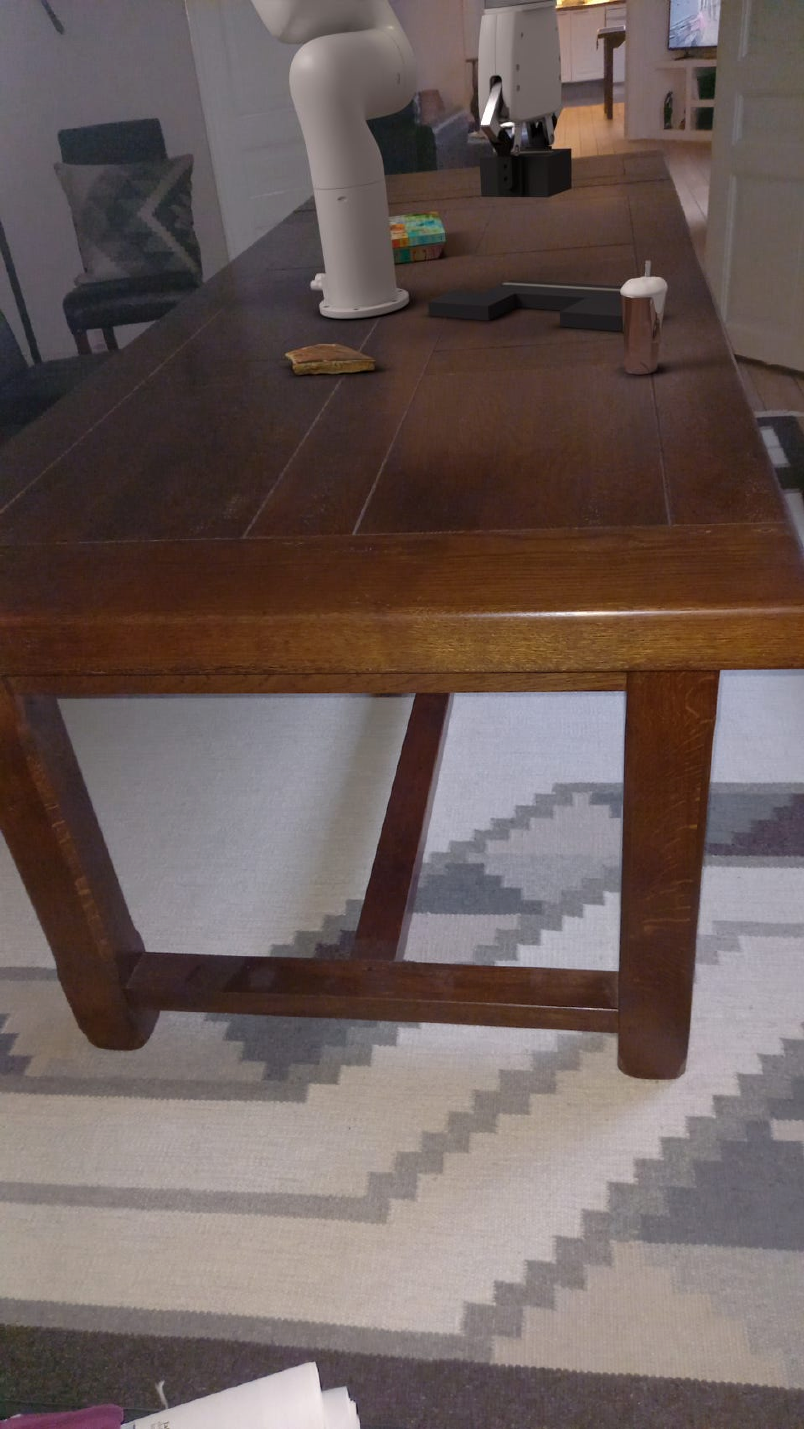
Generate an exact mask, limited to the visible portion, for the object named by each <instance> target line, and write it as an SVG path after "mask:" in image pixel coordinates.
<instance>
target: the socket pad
mask: <svg viewBox="0 0 804 1429" xmlns="http://www.w3.org/2000/svg"><path fill="white" fill-rule="evenodd" d="M622 287H623V285H610V284H594V283H593V284H591V283H576V282H575V283H573V282H559V281H558V282H557V281H537V280H522V279H521V280H519V279H509V280H507V281H505V282H502V283H500V284H498V285H495V286H493V287H491V288H488V289H486V290H475V289H474V290H472V289H459V288H457V289H453V290H452V291H449V292H447V293H444V294H442V295H440V296H437V297H436V298H433V299H431V300H428V301H427V306H428V307H427V309H428V316H429V317H440V318H452V319H465V320H474V321H475V320H476V321H486V322H490V321H492V320H494V319H496V318H498V317H500V316H502V315H504V314H506V313H507V312H509V311H511V310H514V309H516V308H521V309H533V310H547V311H548V310H549V311H558V312H559V327H560V328H570V329H583V330H595V331H608V332H621V333H623V317H622V305H621V292H620V290H621V288H622Z"/></svg>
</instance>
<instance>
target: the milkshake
mask: <svg viewBox="0 0 804 1429" xmlns="http://www.w3.org/2000/svg"><path fill="white" fill-rule="evenodd" d="M651 263H652V261H651V260H645V267H644V268H645V270H644V276H640V277H636V278H629V279H628V280H627V281H626V282H625V283H624V284H623V285H622V286H623V287H622V288H621V290H620V292H621V305H622V317H623V332H622V333H623V348H624V349H623V350H624V369H625V370H624V371H625V372H626V373H628V374H630V375H637V376H641V375H649V374H652V373H655V372H656V371H657V369H658V366H659V356H660V346H661V337H662V330H663V321H664V315H665V308H666V299H667V292H668V283H667V281H666V279H664V278H663V277H660V276H650V275H651V265H652V264H651Z"/></svg>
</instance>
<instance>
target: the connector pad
mask: <svg viewBox="0 0 804 1429" xmlns="http://www.w3.org/2000/svg"><path fill="white" fill-rule="evenodd" d="M572 152H573V151H572V148H570V147H569V148H552V149H526V148H524V149H523V148H522V149H521V148H520V153H519V155H524V183H525V193H524V195H522V196H500V195H499V193H498V174H497V157H496V156H494V153H493V152H492V153H489V154H486V155H482V156H480V157H479V158H478V159H479V160H478V162H479V173H480V174H479V175H480V176H479V177H480V196H481V197H482V198H551V197H554V196H556V195H559V194H561V193H564V192H566V191H569V190H571V189H572V186H573V185H572V184H573V182H572V181H573V180H572V176H573V174H572V172H573V170H572V169H573V168H572V166H573V165H572V164H573V163H572V159H573V156H572V154H573V153H572Z"/></svg>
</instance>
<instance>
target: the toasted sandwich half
mask: <svg viewBox="0 0 804 1429" xmlns="http://www.w3.org/2000/svg"><path fill="white" fill-rule="evenodd" d="M285 357H286V358H287V359H288V360H289V361H290V362H292V369H293V371H294V373H295V374H296V375H297V376H303V375H308V374H309V375H318V374H330V375H335V374H337V375H338V374H343V373H358V372H359V373H360V372H362V371H374V370H375V369H376V367H375V363H376V362H377V358H373V357H371V356H369V355H365V354H363V353H361V352H360V351H358V350H355V349H353V348H350V347H347V346H346V345H342V344H339V343H337V342H336V343H332V344H331V343H330V344H329V343H327V344H326V343H318V344H313V345H309V346H306V347H302V348H298V349H297V348H296V349H294V350H291V351H288V352H287V353H285Z"/></svg>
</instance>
